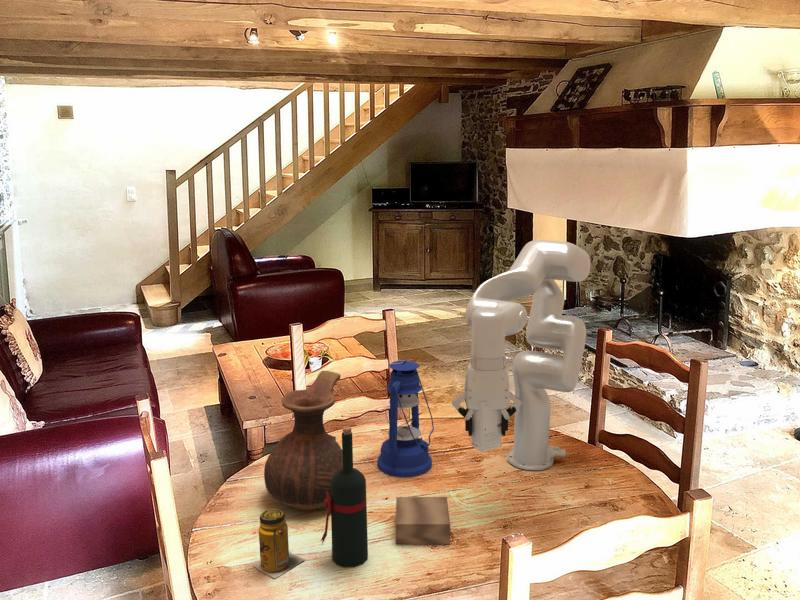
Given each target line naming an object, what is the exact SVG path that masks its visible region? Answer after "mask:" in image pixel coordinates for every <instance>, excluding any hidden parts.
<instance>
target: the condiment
mask: <svg viewBox="0 0 800 600" xmlns="http://www.w3.org/2000/svg"><path fill="white" fill-rule="evenodd" d="M258 541H259V542H258V543H259V557H260V558H259V560H260V561H259V562H258V561H257V562H256V563H254V564H252V567H254V568H256V569H257V570H258V571H260V572H262V573H264V574H265V575H267V576H269V577H271V578H273V579H276V578H278V577H280V576H282V575H283V574H285V573H287V572H288V571H289V570H291V569H292V568H294V567H296V566H297V565H299V564H300V563H302V562H304V561H305V560H306V559H305V558H302V557H300V556H299V555H295V554H294V553H293V552H290V549H289V548H290V547H289V527H288V524H287V521H286V513H285V512H284V511H283V510H282V509H279V508H271V509H270V508H269V509H267V510H264V511H263V512H261V514H259V527H258Z"/></svg>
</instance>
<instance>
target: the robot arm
mask: <svg viewBox="0 0 800 600" xmlns="http://www.w3.org/2000/svg"><path fill="white" fill-rule="evenodd" d="M590 272H591V259H590V256H589V254H588V252H587V250H585V249H583V248H581V247H580V246H578V245H576V244H574V243H571V242H568V241H560V240H559V241H558V240H546V239H535V240H531V241H529V242H527V243H525V245H524V246H523V247H522V249H521V250H520V252H519V254H518V256H517V258H516V259H515V260H514V261H513V263H512V264H511V266H510V268H509V270H507V271H505V272H502V273H500V274H498V275H495V276H494V277H492V278H489V279H487V280H486V281H483V282H482V283H481V284H480V285H479V286H478V287H477V289H476V290H475V291H474V293H473V294H472V296H471V297H470V299H469V301H468V303H467V306H466V308H465V315H464V316H465V321H466V323H467V325H468V326H469V327H470V328H471V347H470V348H471V350H470V351H471V352H470V353H471V354H470V355H471V357H470V358H471V359H470V364H468V365H467V368H466V373H465V379H464V380H465V383H464V391H463V392H461V393H460V394H459V395H458V396H457V397H455V398H454V399H453V400H452V401H451V405H452V407H454V409H455V410H456V411H457V412H458V413H459V414H460V415H461V416H462V417H463V418H464V419H465V420H464V421H465V423H464V428H465V432H467V434H468V437H471V436H472V414H473V413H474V411H475V410H479V406H480V402H488V404H489V409H490V410H500V411H501V412H502V437H505V436H506V432H507V431H509V420H510V419H511V417H512V416H513V415H514V423H513V426H514V427H513V448H512V449H511V450H510V451H509V452H508V453H507V461H508V463H509V464H511V465H512V466H513V467H515V468H517V469H521V470H525V471H542V470H546V469H549V468H550V467H552V466H553V464H554V459H555V457H566V455H567V452H566V449H562V448H561V449H560V446H551V445H550V444H549V443H550V442H549V441H550V426H551V424H550V423H551V422H550V421H551V400H550V396H549V394H548V392H547V390H549V391H550V390H551V391H554V392H555V391H556V392H561V393H570V392H572V391H574V390H575V388H576V387H577V384H578V381H579V378H580V372H581V366H582V363H583V356H584V351H585V347H586V339H587V329H586V324H585V322H584V321H583V320H582V319H581V318H578V317H575V316H569V315H563V310H564V306H565V296H564V294H563V291H562V290H561V288H560V286H559V285H558V284H557V282H556V281H564V282H565V281H566V282H576V283H580V282H583V281H585V280H586V279H587V278H588V276H589V275H590ZM555 280H556V281H555ZM532 295H533V296H532ZM530 296H532V301H531V307H530V313H529V316H528V312H527V310H526V307H525V306H524V305H523V304H521V303H519V302H515V301H511V300H518V299H519V300H520V299H522V298H526V297H530ZM526 324H527V325H526ZM525 326H526V332H525V333H526V334H525V338H526V342H527V343H528V344H529V345H530V346H533V347H535V348H541V349H547V350H552V351H559V352H563V355H561V354H557V353H556V354H554V353H550V352H545V351H536V350H522V351H520V352H519V353H517V354H516V355H515V357H514V359H513V361H512V360H511V359H512V357H511V355H510V356H508V355H506V354H505V349H506V348H505V347H506V345H505V344H506V339H505V338H506V337H508V336H512V335H515V334H518V333H520V332H521V331H522V330H523V329H524V328H525ZM511 361H512V376H513V382H514V393H513V392H511V391H510V381H509V371H508V367H507V365H506V364H508V363H511ZM510 401H512V403H513V404H512V405H510ZM462 402H465V406H466V408H464V406H462V405H461V403H462Z"/></svg>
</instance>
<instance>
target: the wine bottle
mask: <svg viewBox="0 0 800 600" xmlns="http://www.w3.org/2000/svg"><path fill="white" fill-rule="evenodd" d="M341 429H342V432H341V449H342V461H343V468H342V469H340V470H339V471H337V472H336V473H335V474H334V475H333V477H332V479H331V484H330V487H331V497H330V493H328V492H327V491H326V499H325V500H324V505H325V507H324V508H325V510H326V517H325V526H324V527H325V528H324V532H323V535H322V538H321V539H320V542H321V545H323V544H324V541H325V540H326V538H327V535H328V528H329V519H330V518H331V519H330V520H331V521H330V522H331V527H330V528H331V558H332V559H331V560H332V561H333V562H334V564H335V565H337V566H339V567H342V568H355V567H359V566H362V565H364V564H365V562H367V561H368V559H369V551H368V550H369V547H368V545H369V544H368V543H369V542H368V540H369V539H368V514H367V513H368V511H367V504H368V503H367V479H366V477H365V475H364V474H363V473H362V472H361V471H360V470H359V469H357V468H355V467H354V456H353V455H354V454H353V453H354V452H353V451H354V450H353V449H354V448H353V447H354V445H353V432H352V430H353V429H352V427H351V426H350V425H348V426H347V425H346V426H342V428H341ZM329 517H330V518H329Z"/></svg>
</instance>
